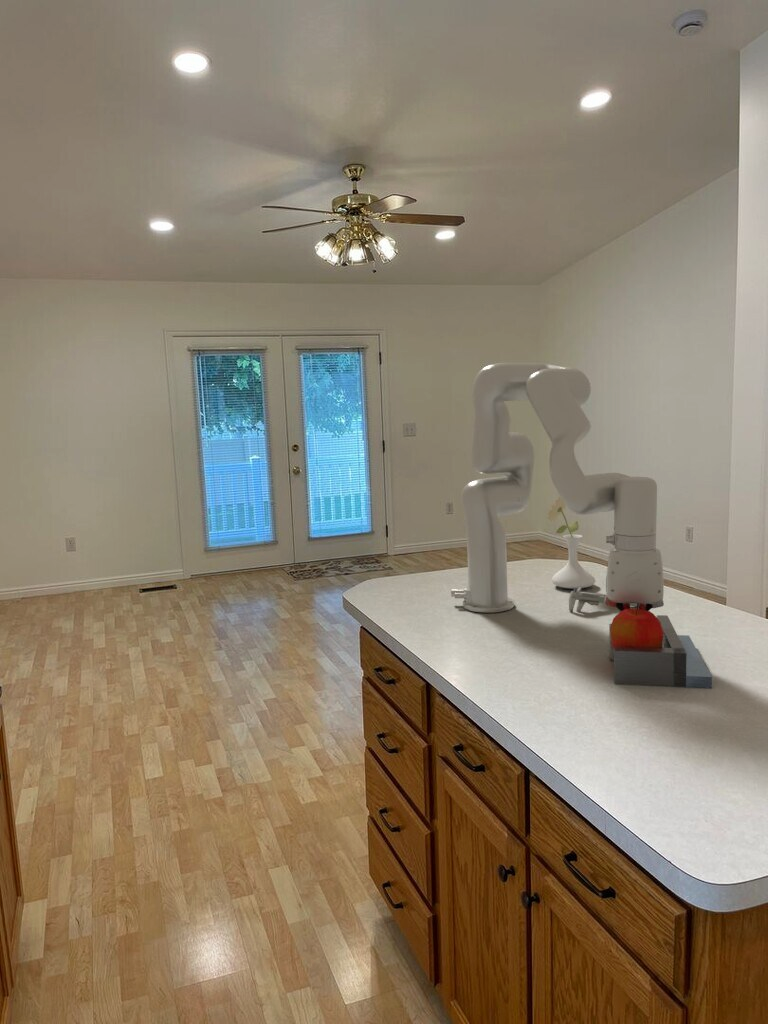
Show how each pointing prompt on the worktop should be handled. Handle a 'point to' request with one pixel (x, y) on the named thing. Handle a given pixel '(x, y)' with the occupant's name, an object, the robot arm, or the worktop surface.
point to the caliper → (585, 599)
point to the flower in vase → (570, 554)
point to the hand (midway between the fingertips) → (633, 635)
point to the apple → (636, 629)
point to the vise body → (662, 662)
